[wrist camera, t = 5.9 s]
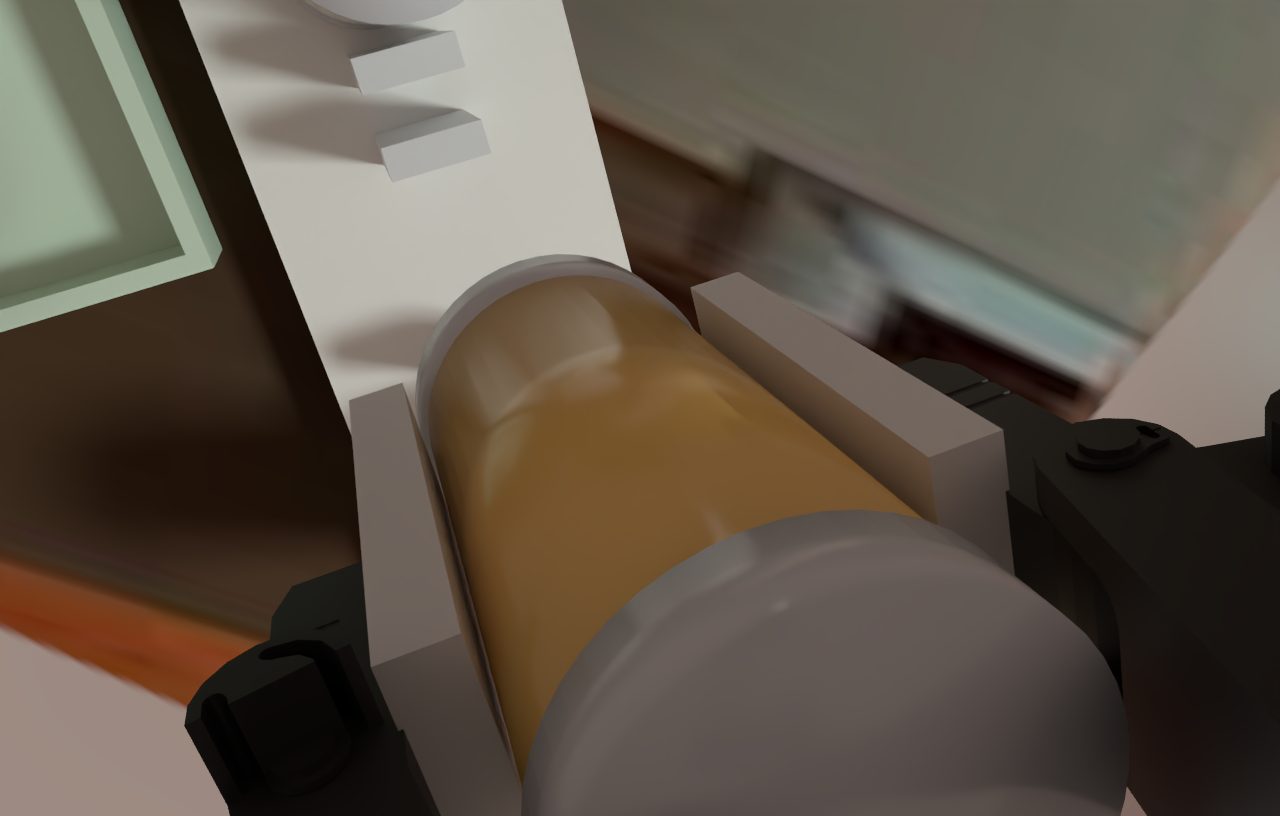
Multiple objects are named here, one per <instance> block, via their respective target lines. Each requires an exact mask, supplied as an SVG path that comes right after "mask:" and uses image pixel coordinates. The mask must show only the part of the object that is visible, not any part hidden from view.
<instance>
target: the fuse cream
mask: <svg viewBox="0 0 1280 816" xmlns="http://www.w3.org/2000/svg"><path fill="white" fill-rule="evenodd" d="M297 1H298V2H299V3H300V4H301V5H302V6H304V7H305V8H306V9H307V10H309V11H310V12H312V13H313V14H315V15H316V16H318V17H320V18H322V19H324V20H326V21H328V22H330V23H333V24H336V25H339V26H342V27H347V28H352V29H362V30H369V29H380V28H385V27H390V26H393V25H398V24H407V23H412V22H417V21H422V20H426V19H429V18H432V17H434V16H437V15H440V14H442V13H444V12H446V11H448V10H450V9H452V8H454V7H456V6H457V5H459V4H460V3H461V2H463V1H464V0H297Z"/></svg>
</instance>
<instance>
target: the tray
mask: <svg viewBox="0 0 1280 816" xmlns="http://www.w3.org/2000/svg"><path fill="white" fill-rule="evenodd" d="M221 251H222V247H221V244H220V242H219V240H218V237H217V235H216V232H215V230H214V228H213V225H212V223H211V220H210V218H209V216H208V213H207V211H206V209H205V206H204V204H203V201H202V199H201V197H200V194H199V192H198V189H197V187H196V185H195V182H194V180H193V177H192V175H191V173H190V170H189V168H188V165H187V163H186V161H185V158H184V156H183V154H182V151H181V149H180V146H179V144H178V142H177V139H176V137H175V134H174V132H173V130H172V127H171V125H170V122H169V120H168V118H167V115H166V113H165V111H164V108H163V106H162V103H161V101H160V99H159V96H158V94H157V91H156V89H155V87H154V84H153V82H152V79H151V77H150V75H149V72H148V70H147V68H146V65H145V63H144V60H143V58H142V56H141V53H140V51H139V48H138V46H137V44H136V41H135V39H134V36H133V34H132V32H131V29H130V27H129V24H128V22H127V20H126V17H125V15H124V13H123V10H122V8H121V5H120V3H119V1H118V0H0V332H3V331H6V330H9V329H13V328H16V327H19V326H23V325H26V324H29V323H33V322H36V321H39V320H43V319H46V318H49V317H53V316H56V315H59V314H63V313H66V312H69V311H72V310H76V309H79V308H82V307H86V306H89V305H92V304H96V303H99V302H102V301H106V300H109V299H112V298H116V297H119V296H122V295H126V294H129V293H132V292H135V291H139V290H142V289H145V288H149V287H152V286H155V285H159V284H162V283H165V282H169V281H172V280H175V279H179V278H182V277H185V276H189V275H192V274H195V273H198V272H202V271H205V270H208V269H212V268H214V266H215V264H216V262H217V260H218V258H219V255H220V253H221Z"/></svg>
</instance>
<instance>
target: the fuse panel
mask: <svg viewBox="0 0 1280 816" xmlns="http://www.w3.org/2000/svg"><path fill="white" fill-rule="evenodd" d="M179 2H180V4H181V7H182V9H183V12H184V14H185V17H186V19H187V22H188V24H189V27H190V29H191V32H192V35H193V37H194V40H195V42H196V45H197V47H198V50H199V52H200V55H201V57H202V60H203V62H204V65H205V67H206V70H207V72H208V75H209V77H210V80H211V82H212V85H213V88H214V90H215V93H216V95H217V98H218V100H219V103H220V105H221V108H222V110H223V113H224V115H225V118H226V120H227V123H228V125H229V128H230V130H231V133H232V135H233V138H234V141H235V143H236V146H237V148H238V151H239V153H240V156H241V158H242V161H243V163H244V166H245V168H246V171H247V173H248V176H249V178H250V181H251V183H252V186H253V188H254V191H255V193H256V196H257V199H258V201H259V204H260V206H261V209H262V211H263V214H264V216H265V219H266V221H267V224H268V226H269V229H270V231H271V234H272V236H273V239H274V241H275V244H276V246H277V249H278V252H279V254H280V257H281V259H282V262H283V264H284V267H285V269H286V272H287V274H288V277H289V279H290V282H291V284H292V287H293V289H294V292H295V294H296V297H297V299H298V302H299V304H300V307H301V310H302V312H303V315H304V317H305V320H306V322H307V325H308V327H309V330H310V332H311V335H312V337H313V340H314V342H315V345H316V347H317V350H318V352H319V355H320V357H321V360H322V363H323V365H324V368H325V370H326V373H327V375H328V378H329V380H330V383H331V385H332V388H333V390H334V393H335V395H336V398H337V400H338V403H339V405H340V408H341V410H342V413H343V416H344V418H345V421H346V423H347V426H348V428H349V431H350V433H351V436H352V432H351V420H350V408H349V400H351V399H354V398H357V397H360V396H363V395H366V394H370V393H373V392H376V391H379V390H382V389H385V388H388V387H391V386H394V385H397V384H400V383H403V386H404V389H405V391H406V394H407V397H408V400H409V402H410V405H411V408H412V411H413V413H414V416H415V419H416V422H417V424H418V421H417V414H416V407H415V387H416V380H417V373H418V368H419V364H420V361H421V357H422V354H423V351H424V348H425V346H426V344H427V342H428V340H429V337H430V335H431V333H432V331H433V330H434V328H435V327H436V325H437V323H438V322H439V320H440V318H441V317H442V316H443V315H444V313H445V312H446V311H447V310H448V308H449V307H450V306H451V305H452V303H453V302H454V301H455V300H456V299H457V298H459V297H460V296H461V295H462V294H463V293H464V292H465V291H466V290H467V289H468V288H470V287H471V286H472V285H474V284H475V283H476V282H478V281H479V280H481V279H482V278H483V277H485V276H487V275H489V274H491V273H492V272H494V271H496V270H498V269H500V268H502V267H505V266H507V265H510V264H512V263H515V262H517V261H521V260H525V259H529V258H533V257H537V256H545V255H554V254H573V255H582V256H588V257H594V258H598V259H601V260H604V261H608V262H611V263H613V264H616V265H618V266H620V267H622V268H624V269H627V270H628V271H630V272H631V269H630V265H629V261H628V257H627V253H626V249H625V245H624V241H623V238H622V234H621V230H620V226H619V222H618V218H617V214H616V210H615V206H614V202H613V199H612V195H611V191H610V187H609V183H608V179H607V175H606V171H605V167H604V164H603V160H602V156H601V152H600V148H599V144H598V140H597V136H596V132H595V128H594V125H593V121H592V117H591V113H590V109H589V105H588V101H587V97H586V93H585V89H584V86H583V82H582V78H581V74H580V70H579V66H578V62H577V58H576V54H575V51H574V47H573V43H572V39H571V35H570V31H569V27H568V23H567V19H566V15H565V12H564V8H563V4H562V0H464V1H463V2H461V3H460V4H459V5H457V6H456V7H454V8H452V9H450V10H448V11H446V12H444V13H442V14H440V15H437V16H434V17H432V18H429V19H426V20H422V21H417V22H412V23H407V24H398V25H393V26H390V27H385V28H380V29H369V30H362V29H352V28H347V27H342V26H339V25H336V24H333V23H330V22H328V21H326V20H324V19H322V18H320V17H318V16H316V15H315V14H313V13H312V12H310V11H309V10H307V9H306V8H305V7H304V6H302V5H301V4H300V3H299V2H298V1H297V0H179ZM418 427H419V426H418ZM442 493H443V491H442ZM443 495H444V493H443ZM444 498H445V497H444Z"/></svg>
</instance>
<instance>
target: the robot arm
mask: <svg viewBox="0 0 1280 816" xmlns="http://www.w3.org/2000/svg"><path fill="white" fill-rule="evenodd" d="M691 291H692V296H693V300H694V304H695V308H696V313H697V317H698V321H699V326H700V330H701V334H702V337H703V338H704V339H705V340H707V341H708V342H709V343H710V344H711V345H713V346H714V347H715V348H716V349H718V350H719V351H720V352H721V353H722V354H724V355H725V356H726V357H727V358H728V359H730V360H731V361H732V362H733V363H735V364H736V365H737V366H738V367H739V368H741V369H742V370H743V371H744V372H746V373H747V374H748V375H749V376H750V377H752V378H753V379H754V380H755V381H756V382H758V383H759V384H760V385H761V386H763V387H764V388H765V389H766V390H767V391H769V392H770V393H771V394H772V395H774V396H775V397H776V398H777V399H778V400H780V401H781V402H782V403H783V404H784V405H786V406H787V407H788V408H789V409H791V410H792V411H793V412H794V413H795V414H797V415H798V416H799V417H800V418H802V419H803V420H804V421H805V422H806V423H808V424H809V425H810V426H811V427H812V428H814V429H815V430H816V431H817V432H819V433H820V434H821V435H822V436H823V437H825V438H826V439H827V440H828V441H830V442H831V443H832V444H833V445H834V446H836V447H837V448H838V449H839V450H840V451H842V452H843V453H844V454H845V455H847V456H848V457H849V458H850V459H851V460H853V461H854V462H855V463H856V464H858V465H859V466H860V467H861V468H862V469H864V470H865V471H866V472H867V473H868V474H870V475H871V476H872V477H873V478H875V479H876V480H877V481H878V482H879V483H881V484H882V485H883V486H884V487H886V488H887V489H888V490H889V491H890V492H892V493H893V494H894V495H895V496H896V497H898V498H899V499H900V500H901V501H903V502H904V503H905V504H906V505H907V506H909V507H910V508H911V509H912V510H914V511H915V512H916V513H917V514H918V515H920V516H921V517H922V518H923V519H924V520H926V521H929V522H931V523H934V524H936V525H939V526H941V527H944V528H946V529H949V530H952V531H954V532H955V533H957V534H958V535H960V536H962V537H963V538H965V539H967V540H968V541H970V542H972V543H973V544H975V545H977V546H978V547H979V548H981V549H982V550H983V551H984V552H986V553H987V554H988V555H989V556H991V557H992V558H993V559H995V560H996V561H997V562H998V563H1000V564H1001V565H1002V566H1003V567H1005V568H1006V569H1007V570H1008V571H1010V572H1011V573H1012V574H1013V575H1015V576H1016V577H1017V578H1018V579H1020V580H1021V581H1022V582H1023V583H1025V584H1026V585H1027V586H1028V587H1030V588H1031V589H1032V590H1033V591H1035V592H1036V593H1037V594H1039V595H1040V596H1041V597H1042V598H1044V599H1045V600H1046V601H1047V602H1049V603H1050V604H1051V605H1052V606H1054V607H1055V608H1056V609H1057V610H1059V611H1060V612H1061V613H1062V614H1064V615H1065V616H1066V617H1067V618H1068V619H1069V620H1070V621H1072V622H1073V623H1074V624H1075V625H1076V626H1077V627H1078V628H1080V629H1081V630H1082V631H1083V632H1084V633H1085V634H1086V635H1087V636H1088V637H1089V639H1090V640H1091V641H1092V642H1093V644H1094V645H1095V646H1096V648H1097V649H1098V650H1099V651H1100V653H1101V654H1102V655H1103V657H1104V658H1105V660H1106V662H1107V664H1108V666H1109V668H1110V670H1111V672H1112V674H1113V676H1114V678H1115V679H1116V681H1117V684H1118V687H1119V690H1120V694H1121V697H1122V700H1123V703H1124V706H1125V710H1126V716H1127V724H1128V731H1129V738H1130V750H1129V774H1128V781H1127V787H1128V788H1129V790H1130V791H1131V793H1132V794H1133V796H1134V797H1135V799H1136V800H1137V802H1138V803H1139V805H1140V806H1141V808H1142V809H1143V811H1144V812H1145V813H1146V815H1147V816H1280V389H1279V390H1278V391H1276V392H1274V393H1273V394H1271V395H1270V397H1269V400H1268V402H1267V404H1266V406H1265V436H1262V437H1256V438H1251V439H1245V440H1239V441H1234V442H1228V443H1222V444H1216V445H1211V446H1206V447H1199V448H1195V447H1194V446H1193V445H1192V444H1190V443H1189V442H1188V441H1186V440H1185V439H1184V438H1183V437H1181V436H1180V435H1178V434H1177V433H1175V432H1173V431H1171V430H1169V429H1167V428H1165V427H1163V426H1161V425H1158V424H1154V423H1150V422H1144V421H1140V420H1135V419H1112V418H1103V419H1096V420H1090V421H1083V422H1076V423H1074V424H1071V423H1069V422H1068V421H1066V420H1064V419H1062V418H1060V417H1058V416H1056V415H1054V414H1053V413H1051V412H1049V411H1047V410H1045V409H1043V408H1041V407H1039V406H1038V405H1036V404H1034V403H1032V402H1030V401H1028V400H1026V399H1024V398H1023V397H1021V396H1019V395H1017V394H1012V395H1011V394H1010V391H1009V390H1008V389H1006V388H1004V387H1002V386H1000V385H998V384H996V383H994V382H990V383H989V382H988V379H987V378H985V377H983V376H981V375H979V374H978V373H976V372H974V371H972V370H970V369H968V368H966V367H964V366H963V365H960V364H955V363H949V362H944V361H939V360H933V359H928V358H921V359H918V360H915V361H912V362H910V363H907V364H904V365H901V366H898V367H897V366H895V365H894V364H892V363H890V362H889V361H887V360H885V359H884V358H882V357H880V356H879V355H877V354H875V353H874V352H872V351H870V350H869V349H867V348H865V347H864V346H862V345H860V344H859V343H857V342H855V341H854V340H852V339H850V338H848V337H847V336H845V335H843V334H842V333H840V332H838V331H837V330H835V329H833V328H832V327H830V326H828V325H827V324H825V323H823V322H822V321H820V320H818V319H817V318H815V317H813V316H812V315H810V314H808V313H807V312H805V311H803V310H802V309H800V308H798V307H796V306H795V305H793V304H791V303H790V302H788V301H786V300H785V299H783V298H781V297H780V296H778V295H776V294H775V293H773V292H771V291H770V290H768V289H766V288H765V287H763V286H761V285H760V284H758V283H756V282H755V281H753V280H751V279H749V278H748V277H746V276H744V275H743V274H741V273H739V272H736V273H733V274H730V275H727V276H724V277H721V278H718V279H715V280H712V281H709V282H706V283H703V284H700V285H697V286H694V287H691ZM349 408H350V420H351V432H352V445H353V457H354V469H355V481H356V494H357V506H358V518H359V530H360V542H361V555H362V562H359V563H356V564H354V565H351V566H348V567H345V568H342V569H340V570H337V571H334V572H331V573H328V574H326V575H323V576H320V577H317V578H314V579H312V580H309V581H306V582H303V583H300V584H298V585H295V586H292V587H291V589H290V591H289V592H288V594H287V595H286V597H285V598H284V600H283V601H282V603H281V604H280V606H279V607H278V609H277V610H276V612H275V613H274V615H273V616H272V623H271V636H270V640H269V641H266V642H264V643H261V644H258V645H256V646H254V647H252V648H251V649H249V650H247V651H246V652H244V653H242V654H241V655H239V656H237V657H235V658H234V659H232V660H230V661H229V662H227V663H226V664H225V665H223V666H222V667H221V668H220V669H219V670H218V671H217V672H215V673H214V674H213V675H212V676H211V677H210V678H209V679H207V680H206V681H205V682H204V683H203V684H202V685H201V687H200V688H199V690H198V691H197V693H196V694H195V696H194V697H193V699H192V700H191V702H190V703H189V704H188V706H187V712H186V719H185V725H184V726H185V728H186V729H187V732H188V733H189V735H190V737H191V739H192V741H193V743H194V745H195V746H196V748H197V750H198V752H199V754H200V756H201V757H202V759H203V761H204V763H205V765H206V767H207V769H208V770H209V772H210V774H211V776H212V778H213V779H214V781H215V783H216V785H217V787H218V789H219V791H220V793H221V794H222V796H223V798H224V800H225V802H226V804H227V805H228V809H229V814H230V816H521V807H522V785H521V782H520V778H519V774H518V771H517V767H516V763H515V759H514V756H513V752H512V748H511V744H510V741H509V737H508V733H507V729H506V726H505V722H504V718H503V714H502V711H501V707H500V703H499V699H498V696H497V692H496V688H495V684H494V681H493V677H492V673H491V669H490V666H489V662H488V658H487V654H486V651H485V647H484V643H483V639H482V636H481V632H480V628H479V624H478V621H477V617H476V613H475V609H474V606H473V602H472V598H471V594H470V591H469V587H468V583H467V579H466V576H465V572H464V568H463V565H462V561H461V557H460V553H459V550H458V546H457V542H456V538H455V535H454V531H453V527H452V523H451V520H450V516H449V512H448V508H447V505H446V501H445V498H444V495H443V493H442V490H441V487H440V484H439V482H438V479H437V476H436V473H435V471H434V468H433V465H432V462H431V460H430V457H429V454H428V452H427V449H426V446H425V443H424V441H423V438H422V435H421V432H420V430H419V427H418V424H417V422H416V419H415V416H414V413H413V411H412V408H411V405H410V402H409V400H408V397H407V394H406V391H405V389H404V386H403V383H400V384H397V385H394V386H391V387H388V388H385V389H382V390H379V391H376V392H373V393H370V394H366V395H363V396H360V397H357V398H354V399H351V400H349Z"/></svg>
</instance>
